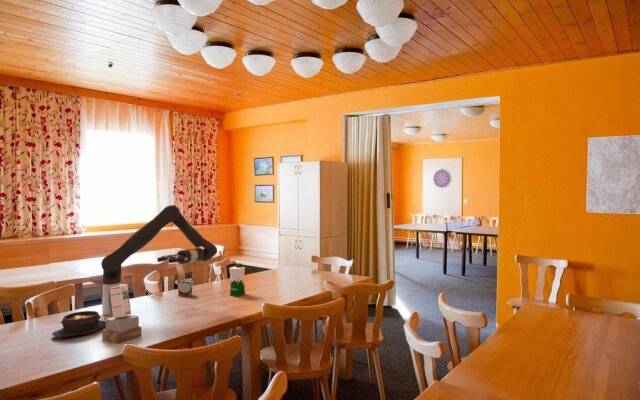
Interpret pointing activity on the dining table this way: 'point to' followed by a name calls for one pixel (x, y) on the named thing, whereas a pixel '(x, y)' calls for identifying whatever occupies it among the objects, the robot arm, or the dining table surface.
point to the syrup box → (120, 301)
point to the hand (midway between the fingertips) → (163, 260)
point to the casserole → (80, 324)
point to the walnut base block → (121, 335)
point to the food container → (185, 287)
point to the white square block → (122, 323)
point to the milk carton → (237, 280)
